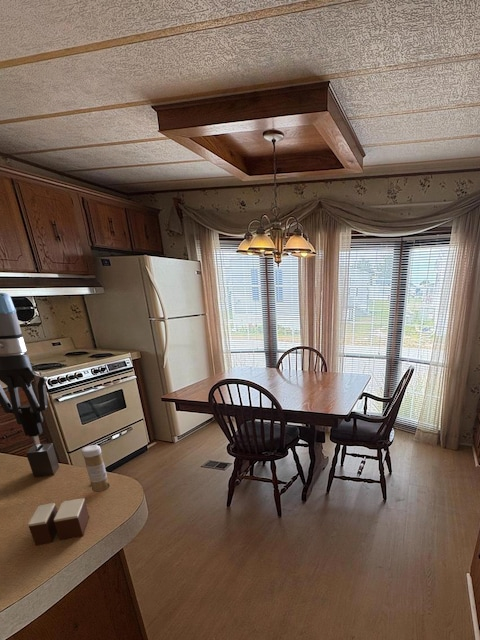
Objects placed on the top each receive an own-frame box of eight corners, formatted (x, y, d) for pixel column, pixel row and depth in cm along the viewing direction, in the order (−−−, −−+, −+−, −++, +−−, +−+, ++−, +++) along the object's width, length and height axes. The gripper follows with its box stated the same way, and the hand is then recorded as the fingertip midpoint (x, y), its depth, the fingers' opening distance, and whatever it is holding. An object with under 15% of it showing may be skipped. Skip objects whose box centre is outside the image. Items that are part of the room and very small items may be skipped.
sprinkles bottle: (98, 484, 104) (87, 444, 99) (113, 484, 104) (103, 444, 99) (88, 492, 100) (77, 451, 95) (104, 492, 100) (93, 451, 95)
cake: (68, 521, 88) (62, 501, 85) (89, 517, 90) (84, 497, 87) (60, 540, 81) (53, 519, 79) (83, 536, 83) (77, 515, 80)
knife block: (41, 473, 109) (32, 445, 105) (60, 471, 111) (52, 443, 107) (35, 482, 104) (25, 453, 100) (55, 479, 106) (46, 450, 102)
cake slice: (45, 525, 86) (38, 505, 84) (61, 522, 87) (54, 502, 85) (35, 545, 79) (27, 524, 77) (52, 542, 80) (45, 521, 78)
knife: (42, 465, 107) (23, 404, 99) (50, 464, 108) (31, 404, 100) (39, 469, 104) (19, 408, 97) (47, 468, 105) (28, 407, 97)
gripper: (-34, 357, 87) (-4, 441, 96) (39, 355, 92) (61, 435, 101) (-21, 352, 93) (7, 431, 102) (47, 350, 99) (67, 426, 108)
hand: (34, 433), depth 102 cm, fingers closed on knife, 2 cm apart
